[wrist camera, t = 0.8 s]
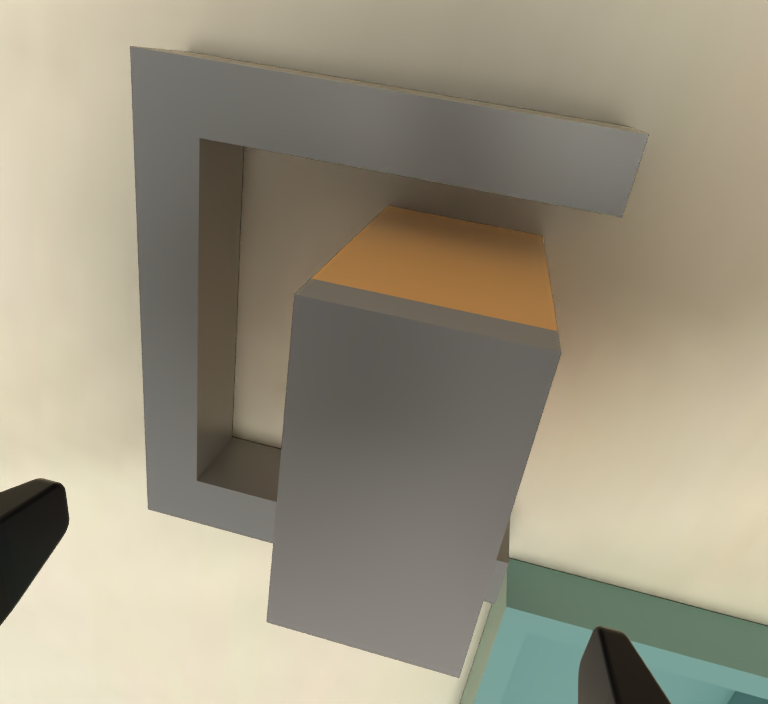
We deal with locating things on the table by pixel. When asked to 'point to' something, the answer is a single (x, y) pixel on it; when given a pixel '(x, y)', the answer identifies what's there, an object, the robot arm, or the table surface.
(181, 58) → the bay
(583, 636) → the tray
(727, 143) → the table surface
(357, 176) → the table surface
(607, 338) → the table surface
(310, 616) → the grey and orange block
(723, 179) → the table surface
